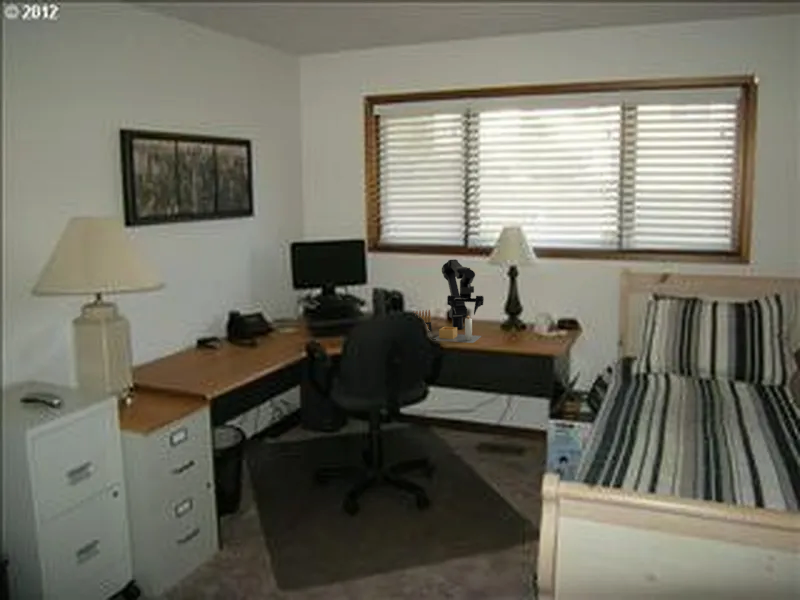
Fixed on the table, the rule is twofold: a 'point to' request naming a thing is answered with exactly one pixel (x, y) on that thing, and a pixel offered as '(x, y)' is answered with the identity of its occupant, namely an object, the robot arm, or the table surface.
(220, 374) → the table surface
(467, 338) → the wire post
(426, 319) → the ammunition clip
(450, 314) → the robot arm
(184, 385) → the table surface
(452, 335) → the plate
